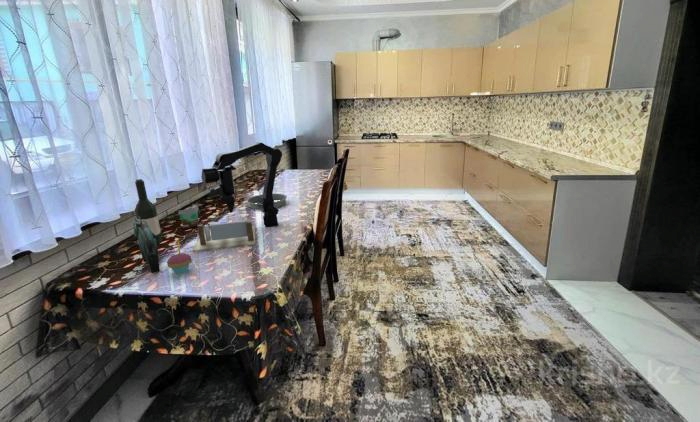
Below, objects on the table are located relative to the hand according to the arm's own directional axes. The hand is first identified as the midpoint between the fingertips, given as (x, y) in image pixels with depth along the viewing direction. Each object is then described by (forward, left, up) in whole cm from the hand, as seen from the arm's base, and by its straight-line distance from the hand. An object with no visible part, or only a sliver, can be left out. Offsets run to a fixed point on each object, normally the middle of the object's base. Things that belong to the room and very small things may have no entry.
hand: (231, 212), depth 170 cm
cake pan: (-17, -49, -12) cm, 53 cm away
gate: (+2, +12, -9) cm, 15 cm away
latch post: (-8, +14, -11) cm, 20 cm away
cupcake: (+17, +37, -11) cm, 42 cm away
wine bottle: (+37, -2, -11) cm, 39 cm away
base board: (+3, +6, -11) cm, 13 cm away
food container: (+22, -22, -11) cm, 33 cm away
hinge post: (+12, +12, -11) cm, 21 cm away
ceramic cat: (+30, +26, -11) cm, 41 cm away
